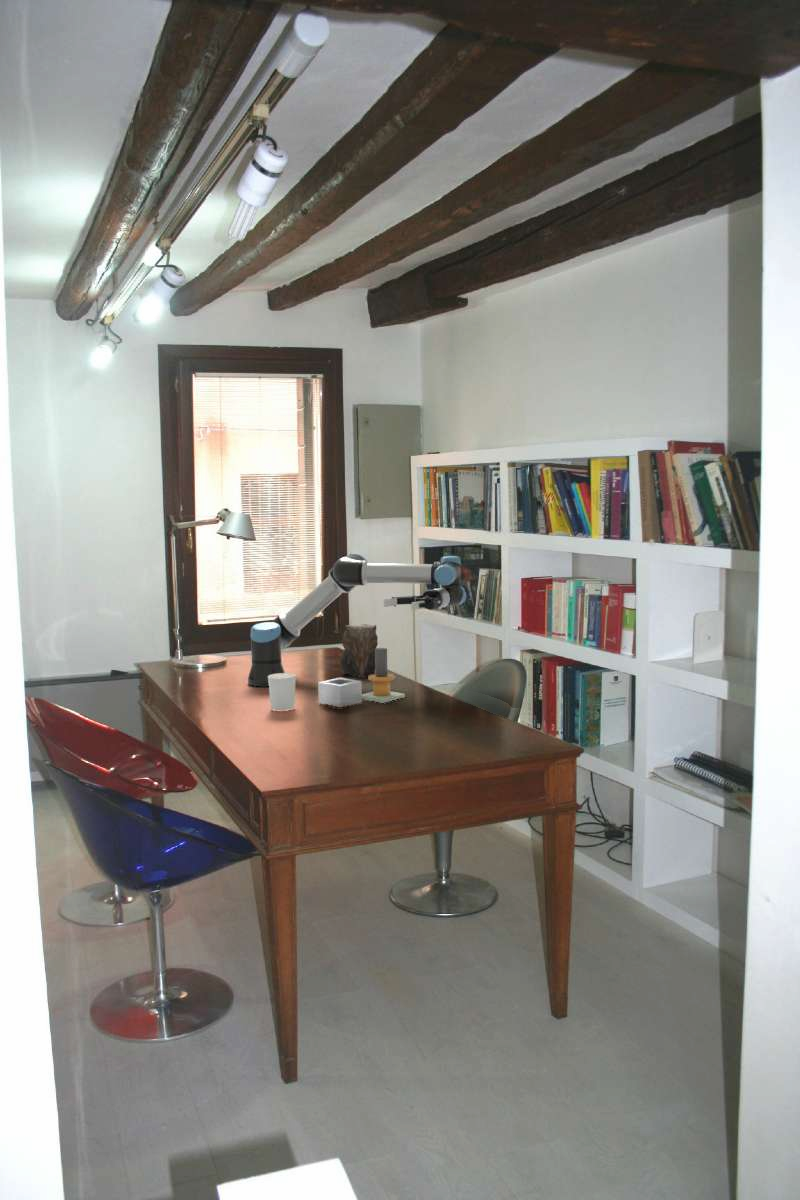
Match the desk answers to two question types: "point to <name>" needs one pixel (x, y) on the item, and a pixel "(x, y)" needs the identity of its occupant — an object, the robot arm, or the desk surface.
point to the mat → (383, 697)
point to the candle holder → (282, 690)
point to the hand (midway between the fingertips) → (398, 604)
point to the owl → (359, 650)
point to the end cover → (381, 674)
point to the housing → (340, 692)
